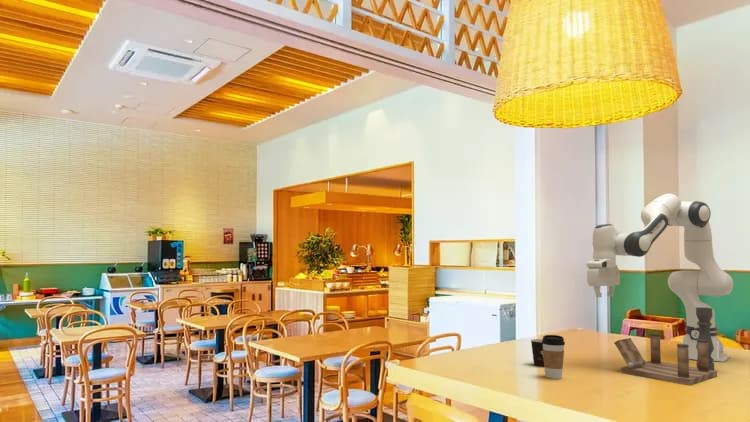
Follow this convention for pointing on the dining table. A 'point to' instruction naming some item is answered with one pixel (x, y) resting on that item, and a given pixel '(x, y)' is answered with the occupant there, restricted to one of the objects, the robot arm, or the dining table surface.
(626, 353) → the hinged leg
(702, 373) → the stool
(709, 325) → the candle holder
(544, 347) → the coffee cup
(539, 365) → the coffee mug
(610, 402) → the dining table surface
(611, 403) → the dining table surface
